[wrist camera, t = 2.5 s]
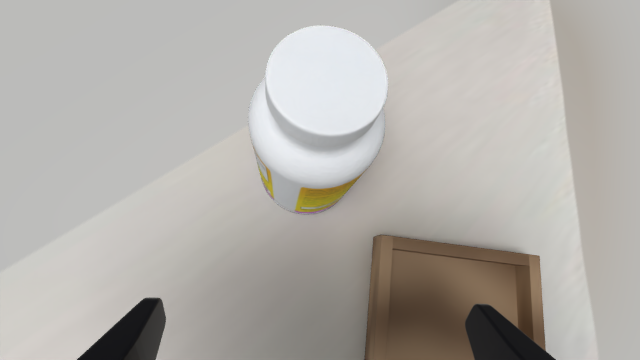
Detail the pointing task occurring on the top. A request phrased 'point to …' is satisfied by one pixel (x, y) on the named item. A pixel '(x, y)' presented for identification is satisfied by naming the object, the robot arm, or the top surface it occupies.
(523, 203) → the top surface
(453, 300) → the walnut tray
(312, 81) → the supplement bottle
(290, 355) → the top surface
